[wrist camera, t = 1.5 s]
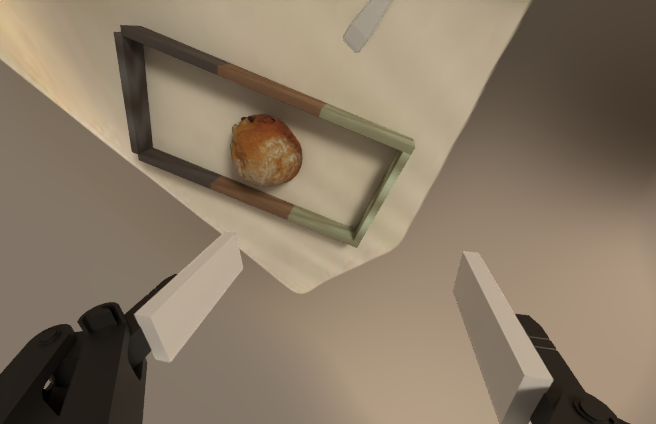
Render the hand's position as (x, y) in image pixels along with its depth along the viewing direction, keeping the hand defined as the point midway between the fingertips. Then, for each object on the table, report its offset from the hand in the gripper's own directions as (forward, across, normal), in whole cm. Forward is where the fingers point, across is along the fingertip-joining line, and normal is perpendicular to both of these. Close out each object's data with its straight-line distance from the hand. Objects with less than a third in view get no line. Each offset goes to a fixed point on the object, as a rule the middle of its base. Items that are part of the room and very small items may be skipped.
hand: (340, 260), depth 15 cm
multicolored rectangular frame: (+23, -15, +2) cm, 28 cm away
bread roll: (+24, -14, +2) cm, 28 cm away
